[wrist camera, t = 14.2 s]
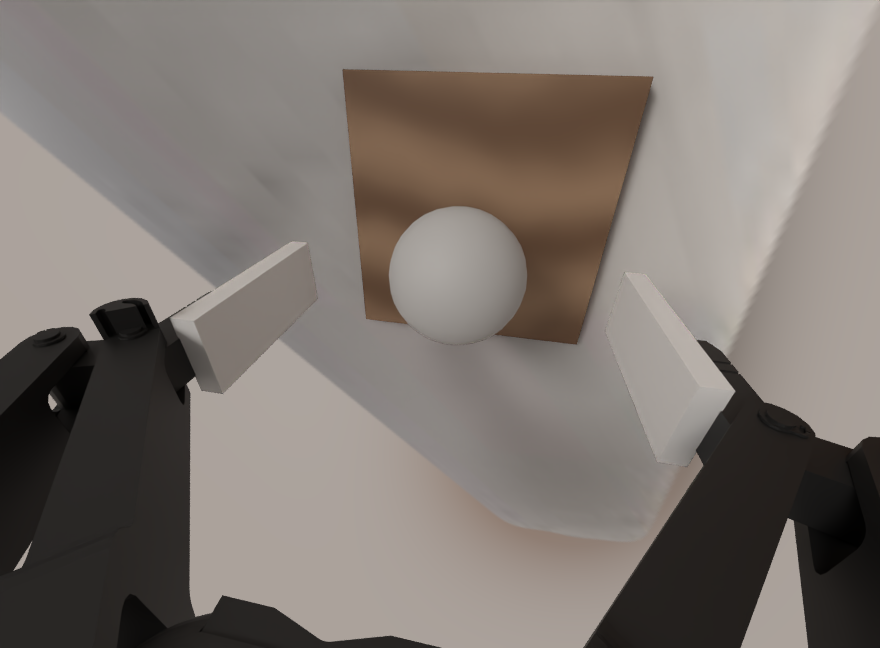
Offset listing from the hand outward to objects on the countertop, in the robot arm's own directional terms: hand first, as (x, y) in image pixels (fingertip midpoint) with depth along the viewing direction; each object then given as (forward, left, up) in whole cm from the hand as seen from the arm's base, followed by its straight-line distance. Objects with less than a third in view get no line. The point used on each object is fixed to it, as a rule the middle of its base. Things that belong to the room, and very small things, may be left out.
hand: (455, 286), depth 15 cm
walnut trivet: (0, 0, -10) cm, 10 cm away
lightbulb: (0, 0, -9) cm, 9 cm away
